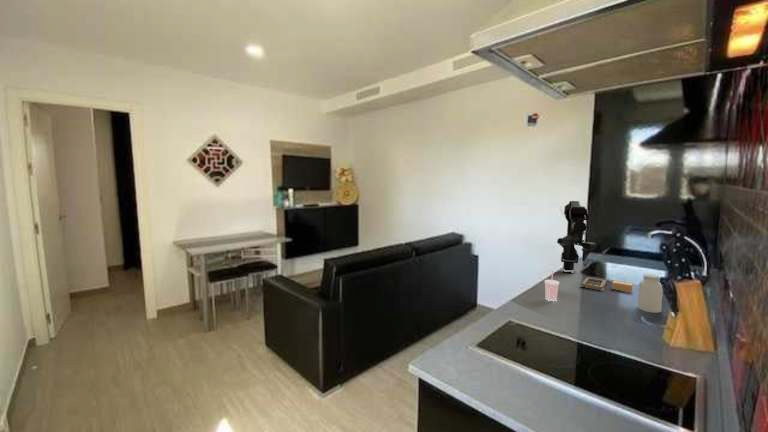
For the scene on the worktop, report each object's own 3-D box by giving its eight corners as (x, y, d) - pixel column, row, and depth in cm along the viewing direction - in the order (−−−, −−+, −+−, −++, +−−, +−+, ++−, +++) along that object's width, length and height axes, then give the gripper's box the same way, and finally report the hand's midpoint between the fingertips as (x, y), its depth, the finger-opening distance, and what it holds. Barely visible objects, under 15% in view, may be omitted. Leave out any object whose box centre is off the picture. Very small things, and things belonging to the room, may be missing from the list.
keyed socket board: (585, 280, 183) (585, 276, 182) (607, 284, 176) (607, 280, 176) (580, 287, 171) (580, 283, 171) (602, 291, 164) (603, 287, 164)
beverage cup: (540, 299, 154) (542, 269, 152) (550, 297, 156) (551, 268, 155) (551, 303, 148) (553, 273, 147) (561, 301, 151) (563, 271, 149)
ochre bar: (611, 290, 168) (612, 282, 167) (612, 288, 171) (613, 280, 170) (631, 293, 162) (632, 285, 162) (632, 291, 165) (632, 283, 165)
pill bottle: (639, 304, 146) (642, 272, 145) (663, 310, 140) (666, 276, 139) (634, 309, 141) (637, 275, 140) (658, 315, 135) (661, 279, 134)
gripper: (550, 228, 178) (549, 257, 180) (583, 233, 161) (581, 264, 163) (565, 227, 182) (563, 255, 184) (598, 232, 165) (596, 262, 167)
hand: (575, 259), depth 174 cm, fingers open, 9 cm apart
